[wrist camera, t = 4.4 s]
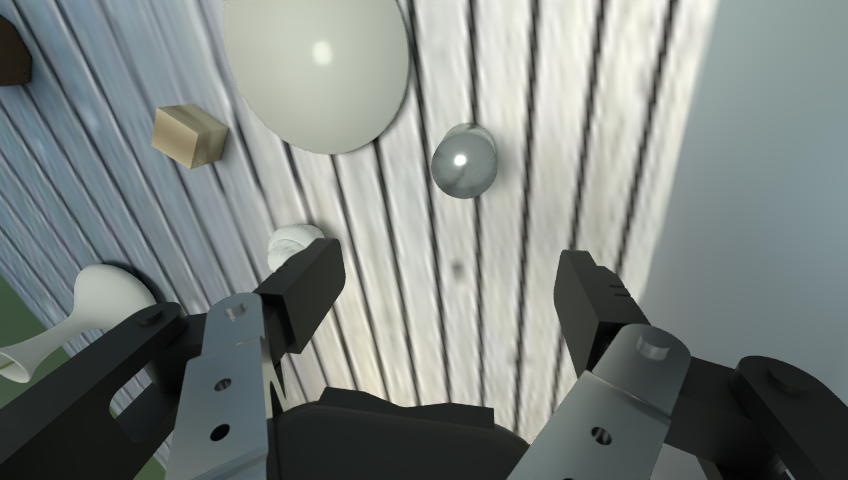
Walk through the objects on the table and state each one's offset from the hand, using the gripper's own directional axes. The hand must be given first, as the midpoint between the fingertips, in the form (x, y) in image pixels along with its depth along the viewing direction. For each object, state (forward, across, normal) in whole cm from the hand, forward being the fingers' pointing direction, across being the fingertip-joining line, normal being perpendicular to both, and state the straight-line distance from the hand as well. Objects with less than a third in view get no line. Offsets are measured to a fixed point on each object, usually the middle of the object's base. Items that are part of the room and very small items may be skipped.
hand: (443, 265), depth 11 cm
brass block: (+20, +27, -2) cm, 34 cm away
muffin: (+20, +18, +10) cm, 29 cm away
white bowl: (+20, +13, -8) cm, 25 cm away
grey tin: (+20, 0, 0) cm, 20 cm away
